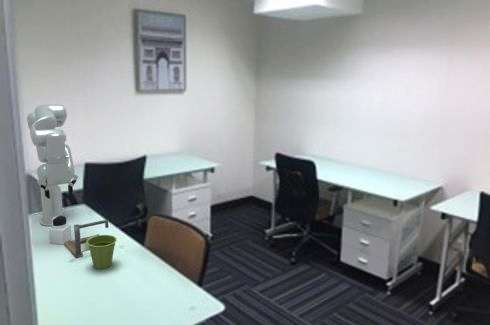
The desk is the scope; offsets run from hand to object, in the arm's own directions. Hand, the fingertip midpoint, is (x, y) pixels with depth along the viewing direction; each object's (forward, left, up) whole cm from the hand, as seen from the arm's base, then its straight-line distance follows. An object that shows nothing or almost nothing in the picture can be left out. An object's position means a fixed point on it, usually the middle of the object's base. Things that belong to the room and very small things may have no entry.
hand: (59, 196), depth 184 cm
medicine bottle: (-2, -1, -23) cm, 23 cm away
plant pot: (+33, +6, -23) cm, 41 cm away
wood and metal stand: (+12, +7, -23) cm, 27 cm away
